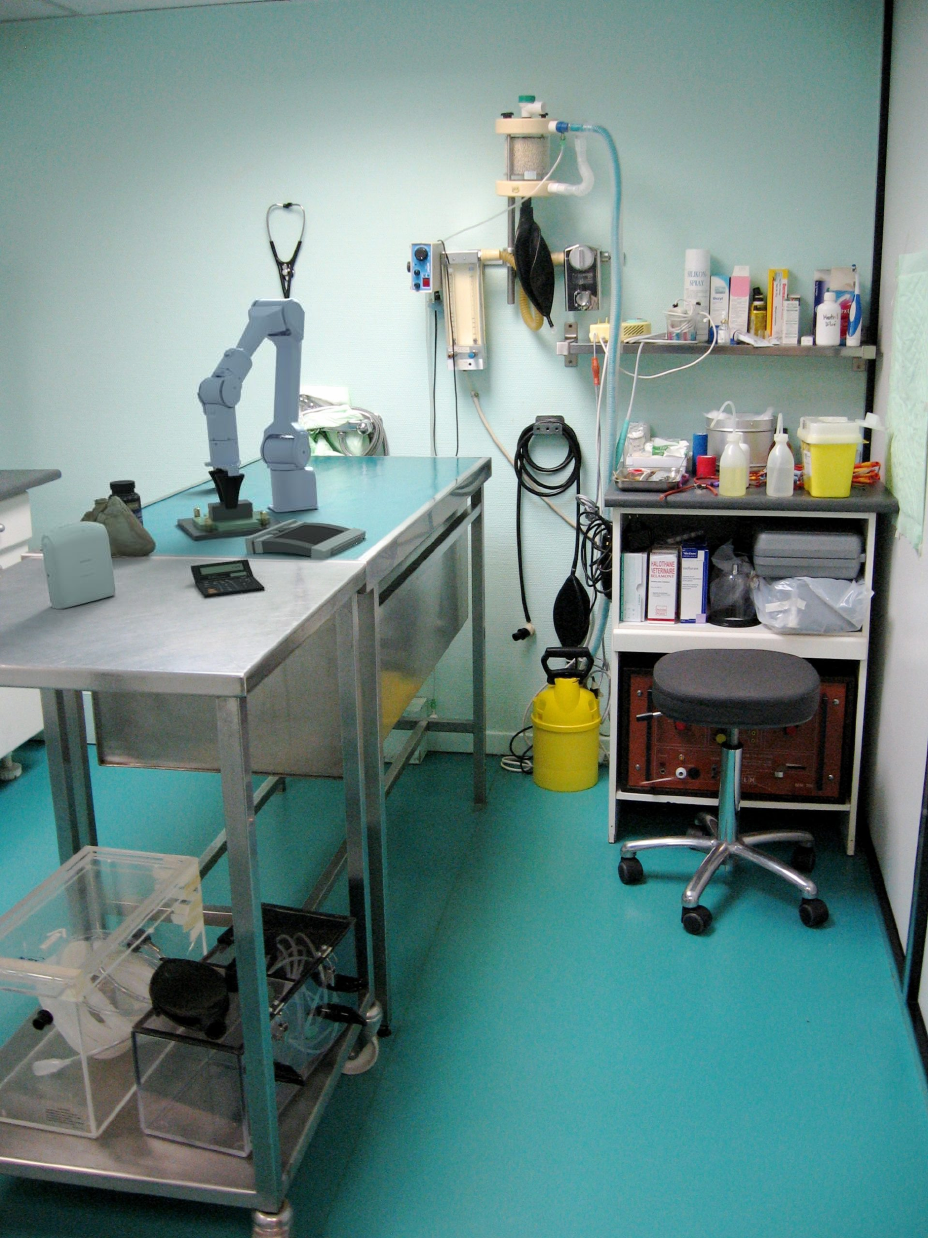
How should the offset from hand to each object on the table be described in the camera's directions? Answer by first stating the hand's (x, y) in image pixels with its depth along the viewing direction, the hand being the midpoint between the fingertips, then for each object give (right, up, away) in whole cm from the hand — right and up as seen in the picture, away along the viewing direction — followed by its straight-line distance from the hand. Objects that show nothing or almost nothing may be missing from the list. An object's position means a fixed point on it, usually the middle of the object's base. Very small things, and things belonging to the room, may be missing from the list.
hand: (229, 506), depth 214 cm
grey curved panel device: (+18, -10, -16) cm, 26 cm away
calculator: (+9, -18, -42) cm, 47 cm away
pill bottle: (-18, -7, -6) cm, 21 cm away
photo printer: (-12, -20, -49) cm, 54 cm away
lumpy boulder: (-15, -11, -18) cm, 26 cm away
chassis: (0, -4, +1) cm, 4 cm away
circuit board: (0, -3, +1) cm, 3 cm away
